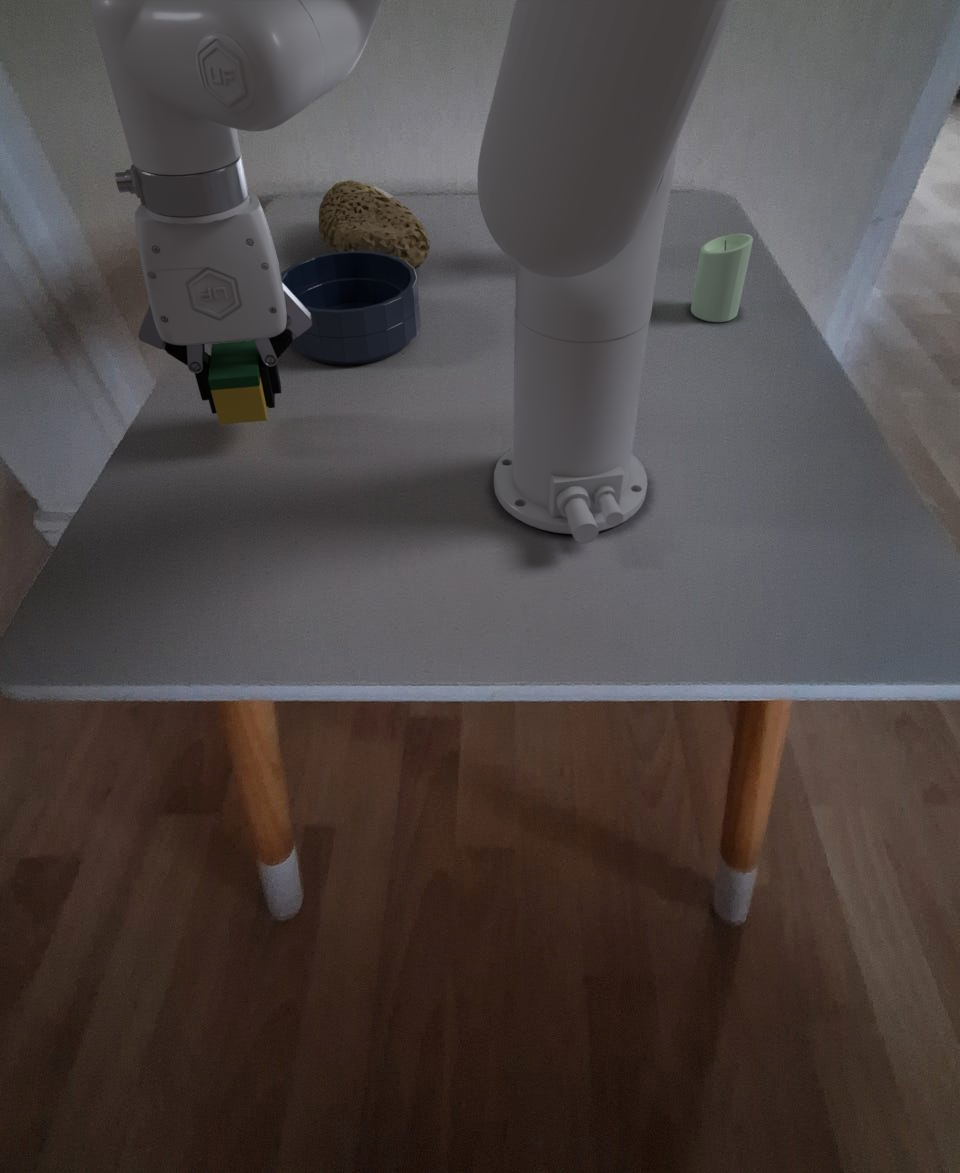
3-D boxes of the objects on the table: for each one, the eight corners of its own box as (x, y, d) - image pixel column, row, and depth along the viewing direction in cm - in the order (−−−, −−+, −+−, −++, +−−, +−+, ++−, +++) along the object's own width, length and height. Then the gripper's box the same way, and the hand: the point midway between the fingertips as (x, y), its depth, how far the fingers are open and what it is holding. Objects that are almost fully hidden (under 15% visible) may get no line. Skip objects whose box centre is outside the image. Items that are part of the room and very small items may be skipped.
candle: (686, 318, 91) (699, 242, 85) (694, 298, 94) (707, 224, 88) (733, 326, 89) (749, 249, 84) (740, 305, 93) (756, 230, 87)
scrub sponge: (267, 420, 72) (257, 375, 69) (219, 425, 72) (207, 379, 69) (267, 384, 76) (258, 339, 73) (222, 388, 76) (211, 343, 73)
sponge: (319, 238, 111) (312, 270, 94) (321, 172, 107) (315, 194, 90) (418, 250, 113) (429, 284, 96) (424, 187, 109) (437, 211, 92)
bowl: (428, 360, 85) (424, 304, 81) (286, 375, 84) (275, 318, 79) (412, 298, 95) (408, 245, 91) (285, 310, 94) (275, 256, 89)
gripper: (64, 212, 58) (141, 436, 70) (311, 196, 60) (342, 416, 72) (82, 174, 63) (150, 389, 76) (308, 160, 65) (337, 371, 78)
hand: (243, 400), depth 74 cm, fingers closed on scrub sponge, 4 cm apart
